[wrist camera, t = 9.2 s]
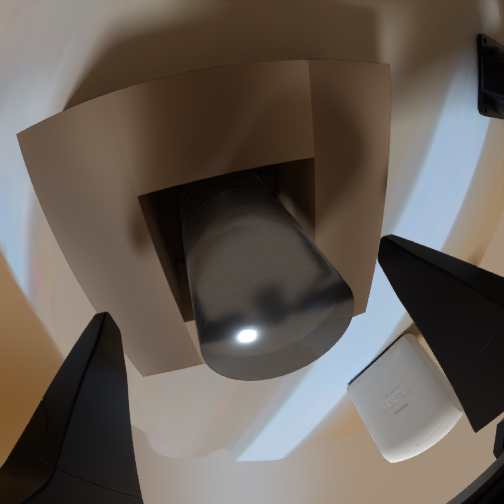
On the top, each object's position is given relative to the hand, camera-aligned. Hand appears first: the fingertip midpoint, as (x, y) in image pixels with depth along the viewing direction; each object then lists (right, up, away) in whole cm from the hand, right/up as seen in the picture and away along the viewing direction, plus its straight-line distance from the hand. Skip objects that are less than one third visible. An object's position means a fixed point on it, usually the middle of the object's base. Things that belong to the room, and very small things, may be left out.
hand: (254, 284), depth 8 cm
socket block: (-1, +3, +5) cm, 6 cm away
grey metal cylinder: (-1, +3, +5) cm, 6 cm away
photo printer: (+15, -12, +21) cm, 28 cm away
